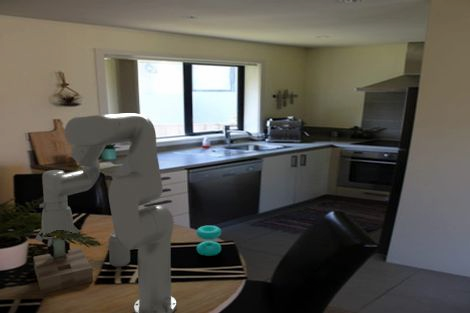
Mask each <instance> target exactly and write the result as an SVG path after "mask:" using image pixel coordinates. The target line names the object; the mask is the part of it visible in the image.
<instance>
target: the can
mask: <svg viewBox="0 0 470 313" xmlns="http://www.w3.org/2000/svg"><path fill="white" fill-rule="evenodd" d="M108 251H109V252H108V253H109V255H108V256H109V264H110V265H111V266H113V267H116V268H122V267H125V266H127V265H128V264H129V263H130V262H131V249H126V248H124V247H122V246H121V245H120V244H119V242H118V240H117V238H116V235H115V231H113V232H111V233H110V236H109V237H108Z"/></svg>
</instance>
